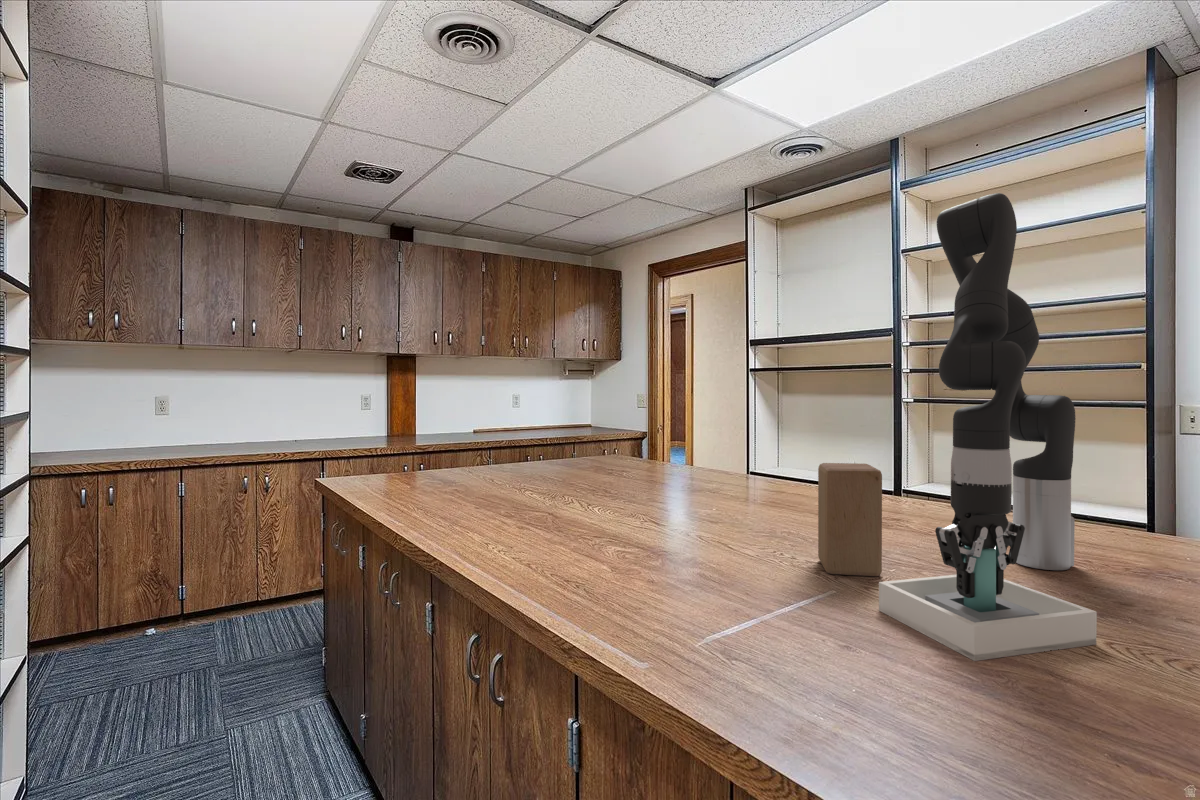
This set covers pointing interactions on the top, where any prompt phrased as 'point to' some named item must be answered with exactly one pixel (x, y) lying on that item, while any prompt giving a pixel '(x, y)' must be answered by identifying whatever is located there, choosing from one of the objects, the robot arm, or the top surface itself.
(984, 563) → the peg
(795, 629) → the top surface
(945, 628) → the bin
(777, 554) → the top surface
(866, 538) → the wooden block
